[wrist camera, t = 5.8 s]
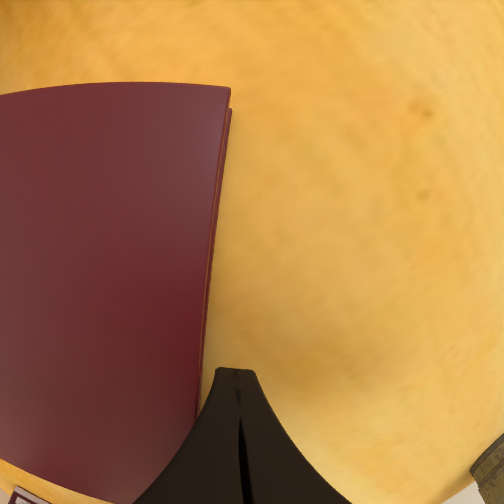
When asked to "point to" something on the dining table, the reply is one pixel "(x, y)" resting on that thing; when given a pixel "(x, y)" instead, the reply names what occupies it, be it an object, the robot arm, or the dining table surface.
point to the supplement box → (24, 497)
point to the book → (106, 276)
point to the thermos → (491, 473)
